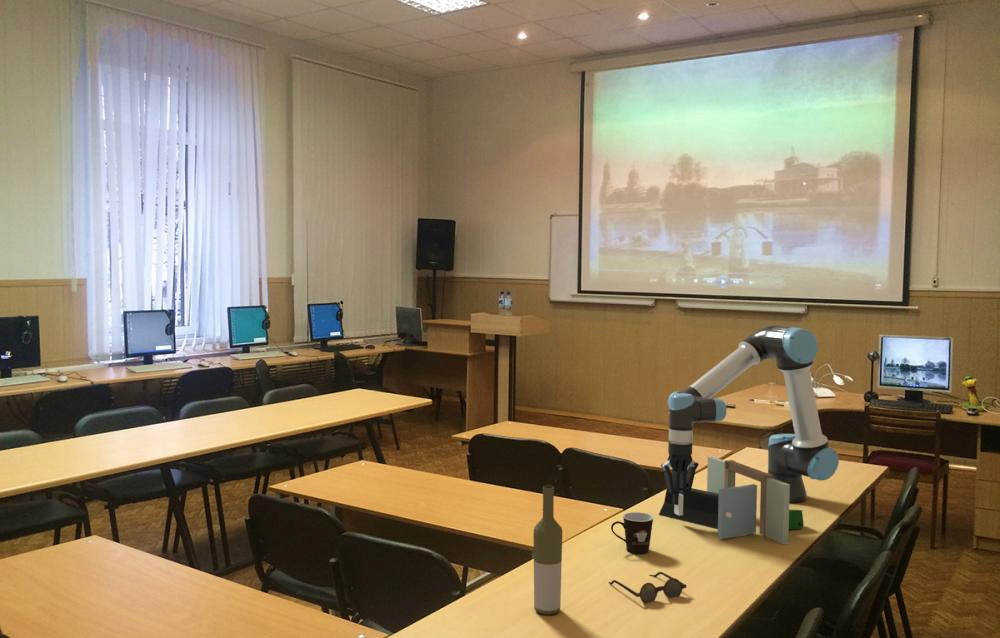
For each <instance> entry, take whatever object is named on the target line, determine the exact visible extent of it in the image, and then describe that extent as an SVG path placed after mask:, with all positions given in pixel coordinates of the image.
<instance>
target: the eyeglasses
mask: <svg viewBox="0 0 1000 638" xmlns="http://www.w3.org/2000/svg"><path fill="white" fill-rule="evenodd" d="M660 575H662V576H665V577H666V578H668V579H667V580H666V582H665V583H664V584H663V585H660V586H656V585H654V584H653V583H652V582H645V583H644V584H643V585H642V586H641V587H640V590H639V592H636V591H635V590H633V589H631V588H629V587H628V586H626V585H625V584H624V583H621V582H620V581H618V580H615V579H614V580H611V581H608V584H609V585H610V586H612V585H613V584H614V583H616V584H617V585H619V586H620V587H621V588H623V589H624V590H626V591H628V592H629V593H630V594H632V595H634V596H635V597H637V598H640V600H641V602H642V603H643V604H644V605H645V604H649V603H653V602H655V601H656V598H657V596H658V594H659V592H661V591H663V594H664V596H665V597H666V598H667V599H671V598H676V597H677V598H678V597H680V596H681V594H682V591H683V590H684V589H686V588H687V584H685V583H683V582H681V581H680V580H679V579H678V578H674V577H672V576H671V575H668V574H667V573H665V572H662V571H658V572H657V573H655V574H649V575H648V576H650V577H653V578H656V577H658V576H660Z"/></svg>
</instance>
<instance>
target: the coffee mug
mask: <svg viewBox="0 0 1000 638" xmlns="http://www.w3.org/2000/svg"><path fill="white" fill-rule="evenodd" d="M622 519H623V522H622V521H619V520H617V521H614V522H612V524H611V525H610V526H611V527H610V530H611V532H612V534H613V535H614V536H615V537H617V538H619V539H620V540H621V541H623V542H624V543H625V548H626V551H627V552H628V553H630V554H633V555H646V554H648V553H650V552H649V551H650V544H651V536H652V530H653V524H654V523H653V522H654V516H653V515H651V514H649V513H645V512H639V511H636V512H635V511H633V512H626V513H624V514H623V516H622ZM617 524H620V525H621V526H622V527H623V529H624V536H625V537H622V536H620V535H618V534H617V533H616V532H615V531H614V526H615V525H617Z"/></svg>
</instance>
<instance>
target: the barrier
mask: <svg viewBox="0 0 1000 638" xmlns="http://www.w3.org/2000/svg"><path fill="white" fill-rule="evenodd" d="M664 496H665V497H664V502H663V505H662V507H661V508H660V511H659V513H658V516H661V517H664V518H669V519H673V520H677V521H678V520H679V521H682V522H684V523H689V524H694V525H699V526H702V527H707V528H711V529H715V530H718V502H719V494H717V493H713V492H708V491H707V490H703V489H697V488H693V487H692V489H691V492H688V494H687V495H685V504H683V515H680V516H679V515H677V514H675V513H674V504H673V494H672V493H670V492H668V491H667V488H666V489H665V495H664Z"/></svg>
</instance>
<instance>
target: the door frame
mask: <svg viewBox="0 0 1000 638" xmlns="http://www.w3.org/2000/svg"><path fill="white" fill-rule="evenodd" d="M706 474H707V475H706V477H707V478H706V479H707V480H706V481H707V482H706V491H708V492H713V493H717V494H719V489H724V488H731V487H736V474H738V475H741V476H743V477H744V476H745V477H747V478H749V479H751V480H755V481H757V482H760V503H759V504H760V505H759V507H760V508H759V535H762V536H763V537H766V538H769V539H771V540H773V541H775V542H777V543H779V544H782V545H788V544H789V530H790V529H789V509H790V503H789V497H790V484H787V483H784V482H781V481H779V480H776V479H773V475H772V474H770V473H768V472H764V471H762V470H759V469H757V468H753V467H752V466H748V465H745V464H743V463H739V462H737V461H736V460H733V459H729V460H724V459H722V458H718V457H715V456H707V473H706Z"/></svg>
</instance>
